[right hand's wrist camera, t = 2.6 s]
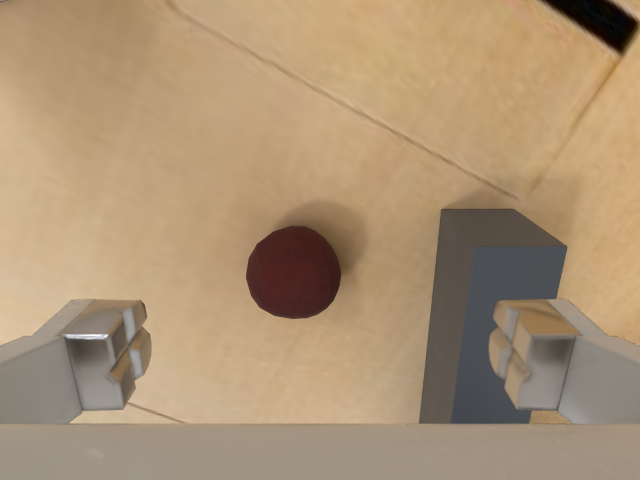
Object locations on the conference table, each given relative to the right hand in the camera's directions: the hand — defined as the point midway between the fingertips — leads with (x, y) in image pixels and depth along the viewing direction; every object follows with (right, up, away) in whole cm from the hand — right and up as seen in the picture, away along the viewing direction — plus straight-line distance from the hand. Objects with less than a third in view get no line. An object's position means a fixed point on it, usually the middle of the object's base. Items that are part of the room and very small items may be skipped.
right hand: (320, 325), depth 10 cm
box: (+14, -7, +32) cm, 35 cm away
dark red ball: (-2, +1, +29) cm, 29 cm away
